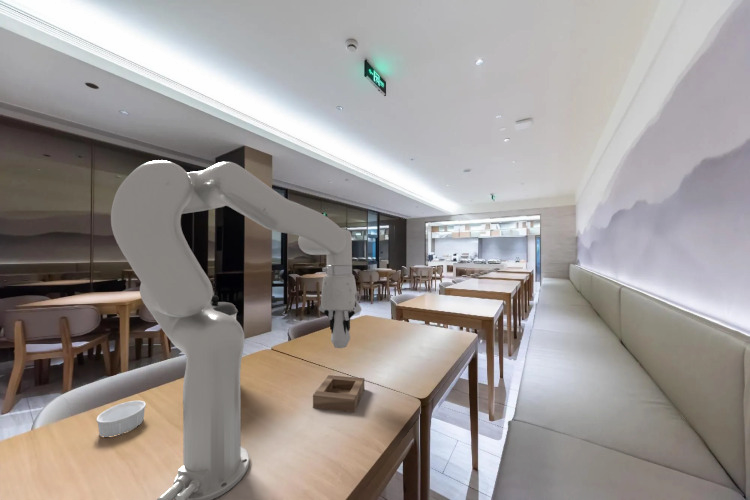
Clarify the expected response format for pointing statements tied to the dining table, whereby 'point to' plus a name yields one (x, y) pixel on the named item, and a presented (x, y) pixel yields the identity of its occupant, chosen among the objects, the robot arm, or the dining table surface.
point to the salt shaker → (339, 331)
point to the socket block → (339, 393)
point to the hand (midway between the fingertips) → (340, 331)
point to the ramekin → (121, 418)
